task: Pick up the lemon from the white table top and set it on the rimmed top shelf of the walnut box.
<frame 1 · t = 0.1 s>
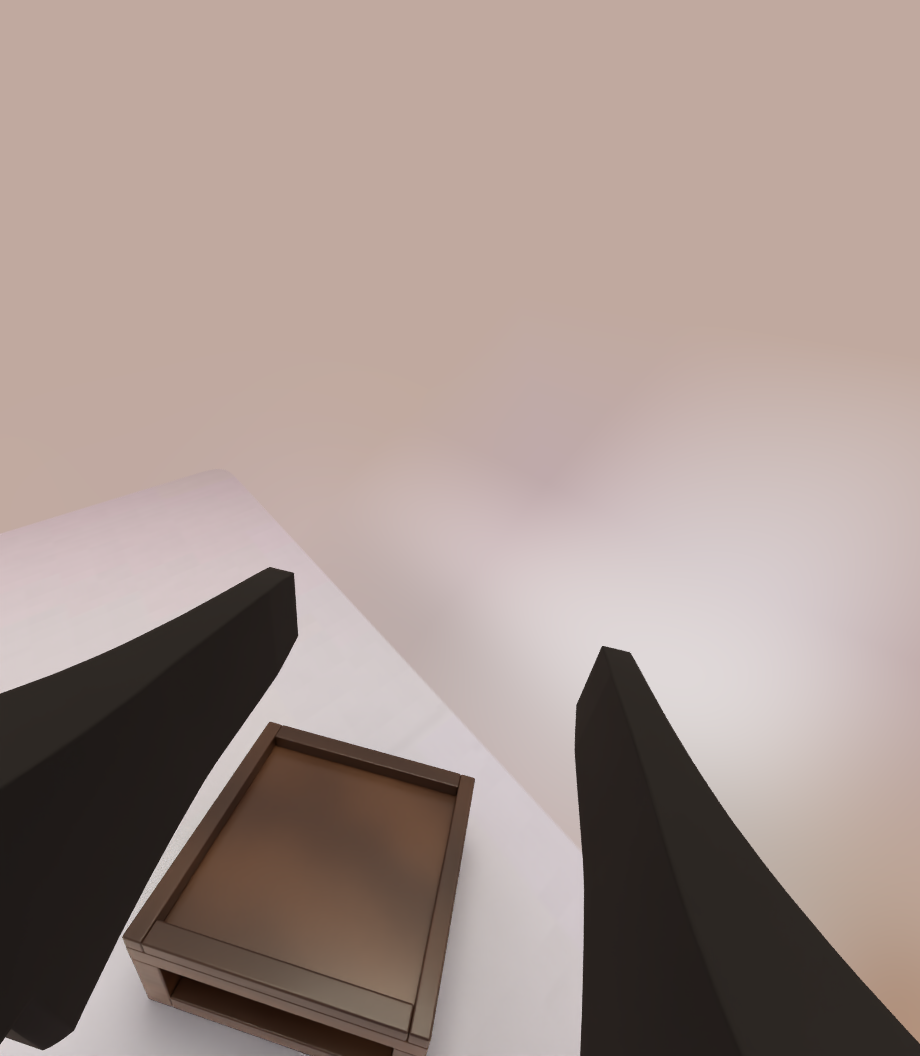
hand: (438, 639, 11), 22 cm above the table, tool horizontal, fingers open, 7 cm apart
walnut box: (329, 905, 23), on the table
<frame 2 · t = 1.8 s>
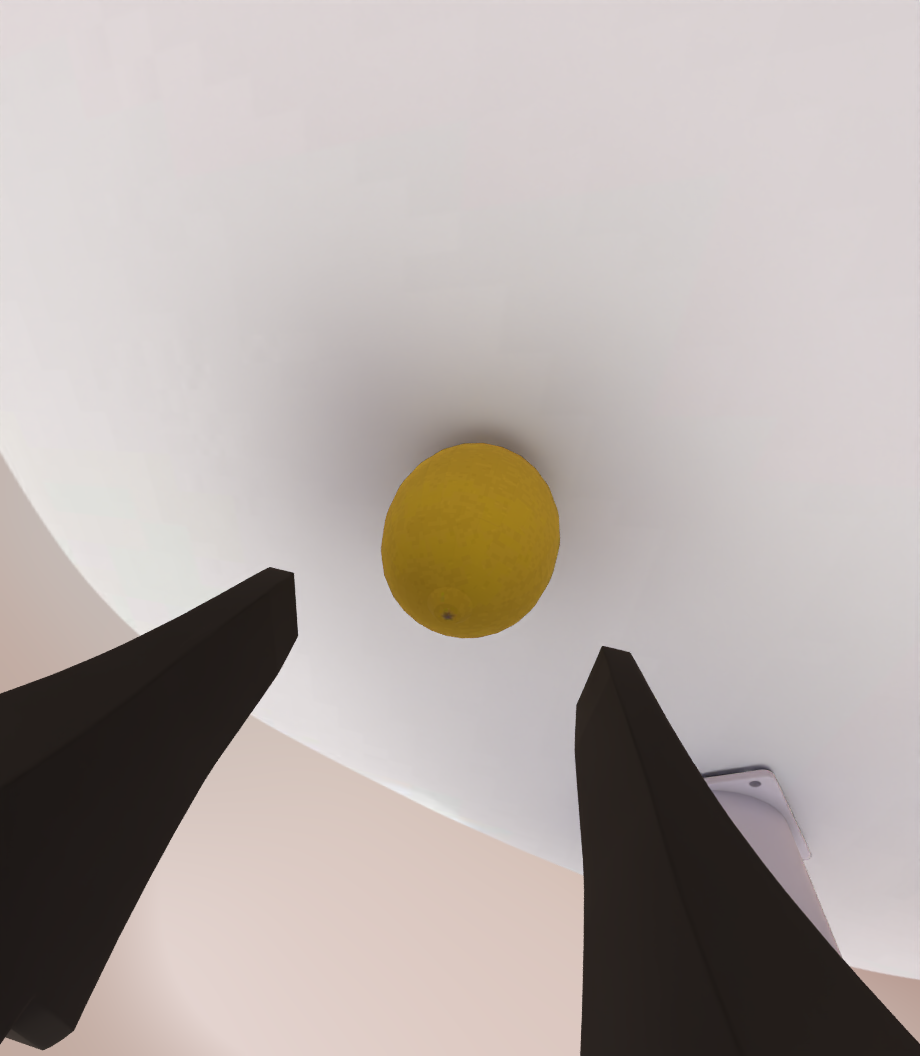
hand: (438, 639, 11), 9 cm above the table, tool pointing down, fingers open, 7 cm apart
lemon: (489, 480, 18), on the table
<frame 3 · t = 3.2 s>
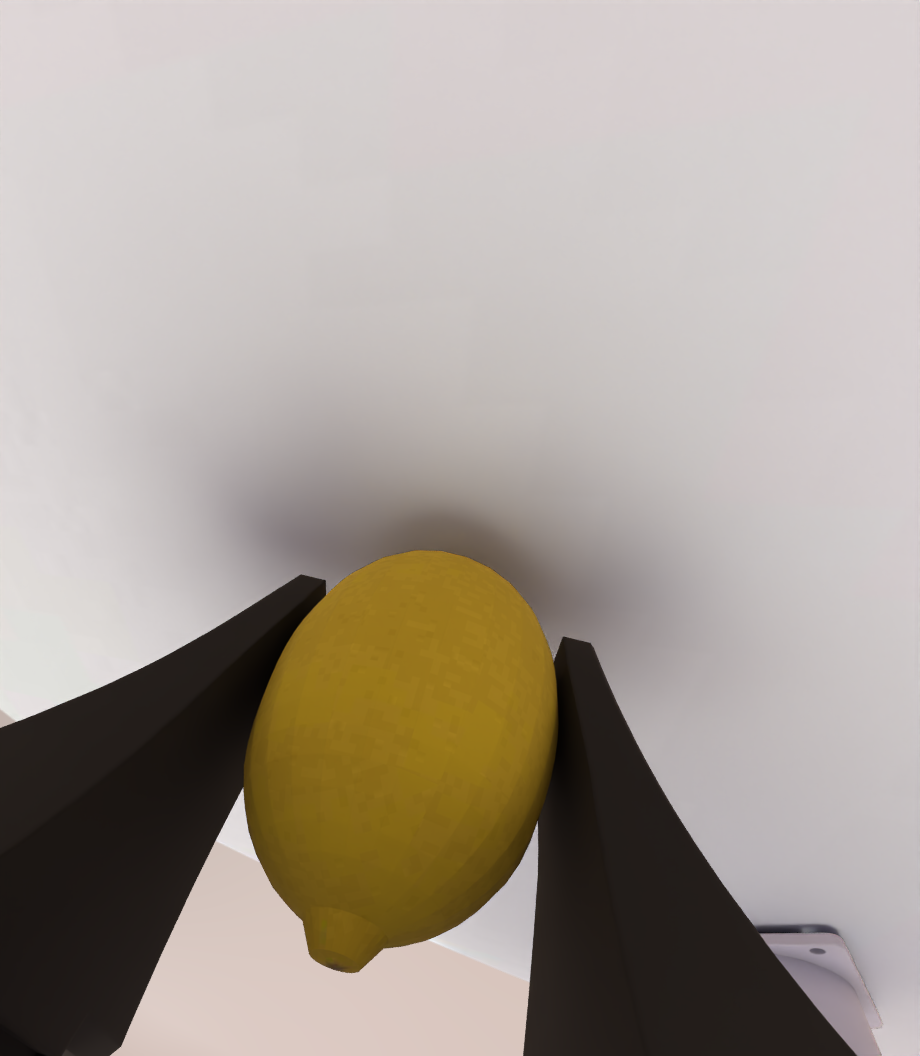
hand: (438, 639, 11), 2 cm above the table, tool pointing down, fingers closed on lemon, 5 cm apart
lemon: (456, 577, 13), on the table, touching gripper
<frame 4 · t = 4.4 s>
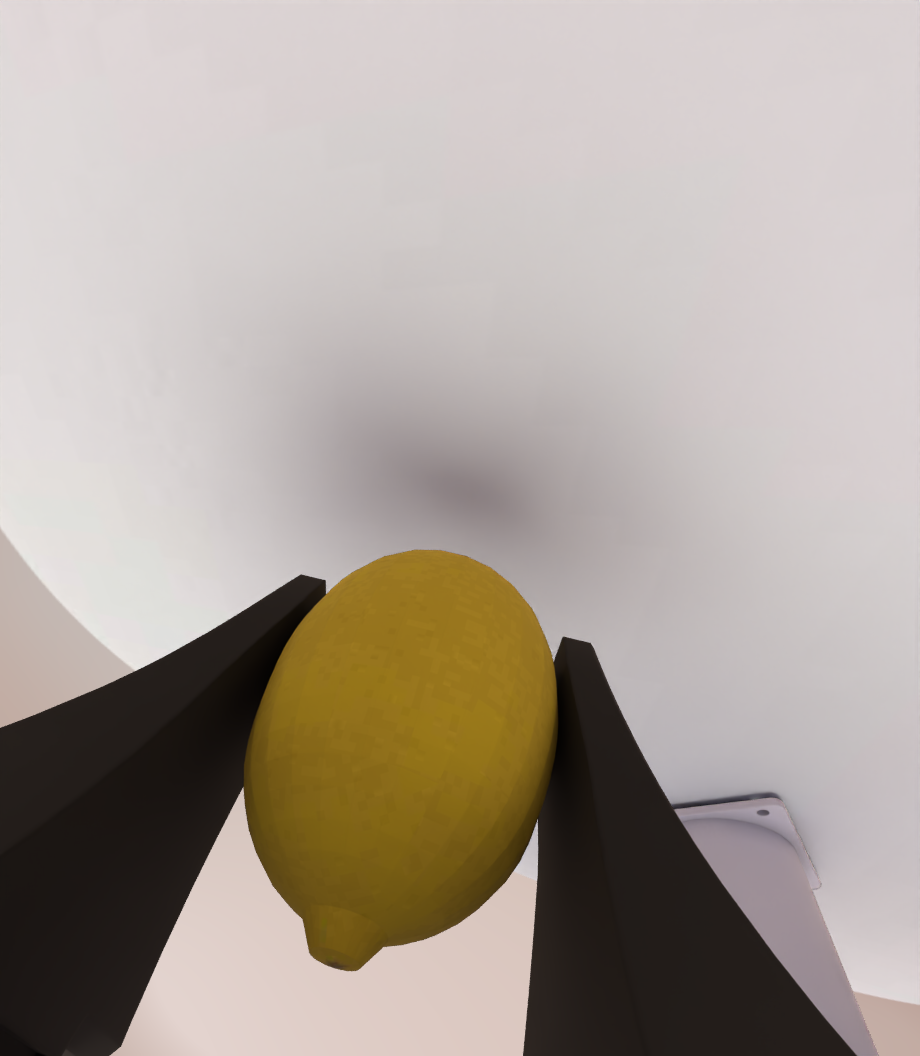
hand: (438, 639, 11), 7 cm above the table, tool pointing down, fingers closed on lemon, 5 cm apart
lemon: (456, 577, 13), point 5 cm above the table, touching gripper
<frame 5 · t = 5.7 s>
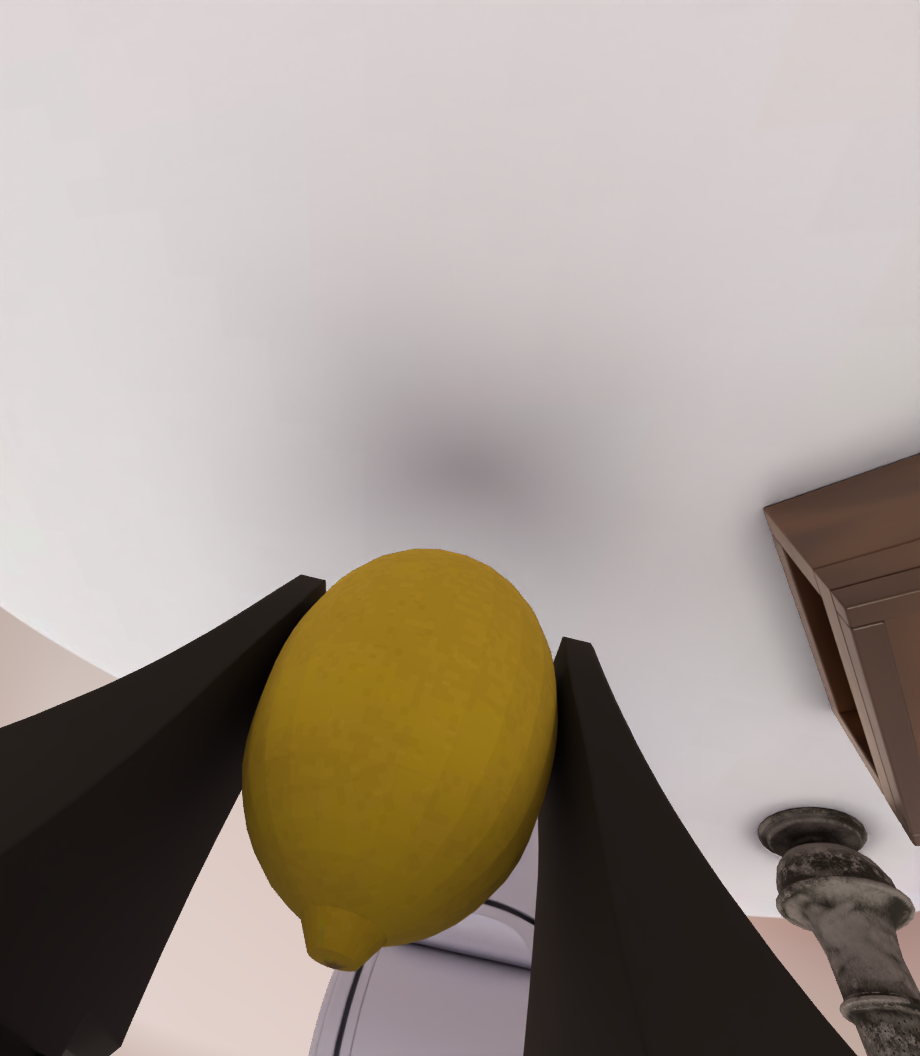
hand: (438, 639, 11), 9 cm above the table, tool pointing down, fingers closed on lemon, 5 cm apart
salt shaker: (808, 830, 26), on the table
lemon: (456, 576, 13), point 7 cm above the table, touching gripper
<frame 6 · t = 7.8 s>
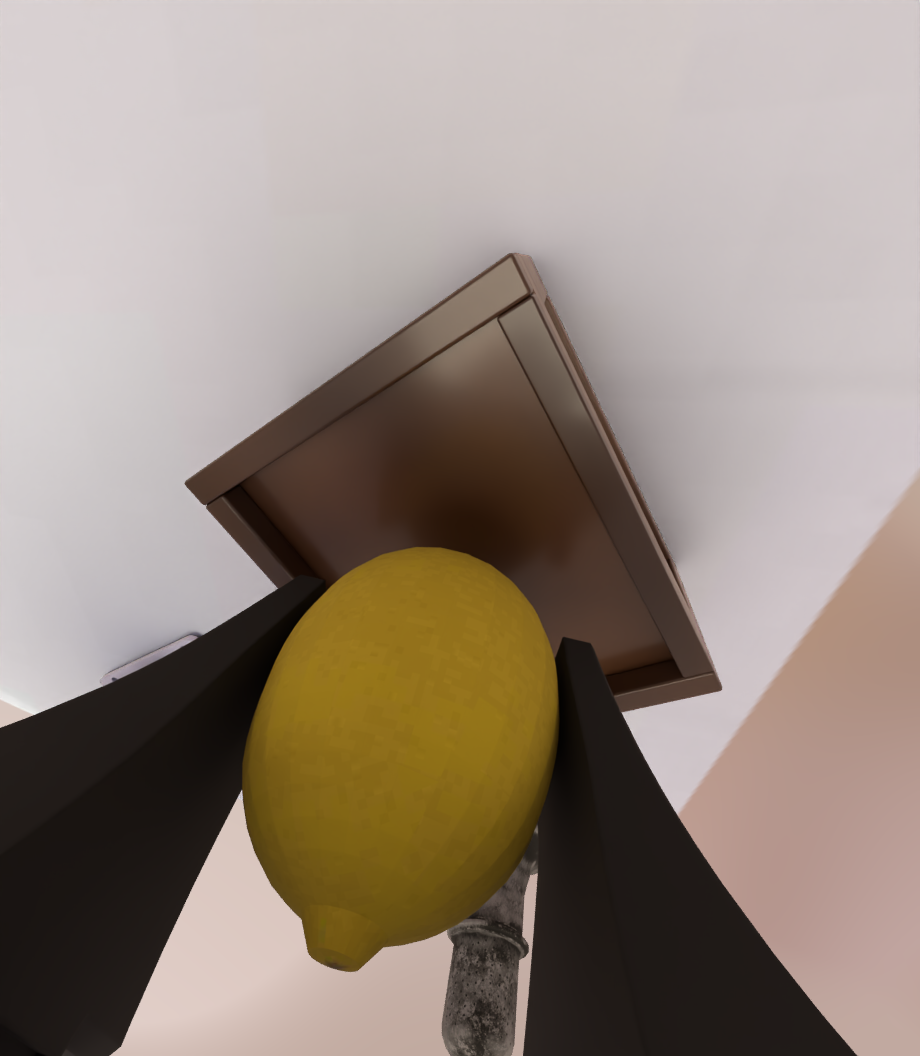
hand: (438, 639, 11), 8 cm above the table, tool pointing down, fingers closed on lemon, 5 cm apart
walnut box: (484, 493, 17), on the table
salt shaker: (504, 773, 26), on the table
lemon: (456, 575, 13), point 5 cm above the table, touching gripper
when the fingers open (7 cm above the table, at t = 8.5 s): lemon stays where it is, resting on walnut box.
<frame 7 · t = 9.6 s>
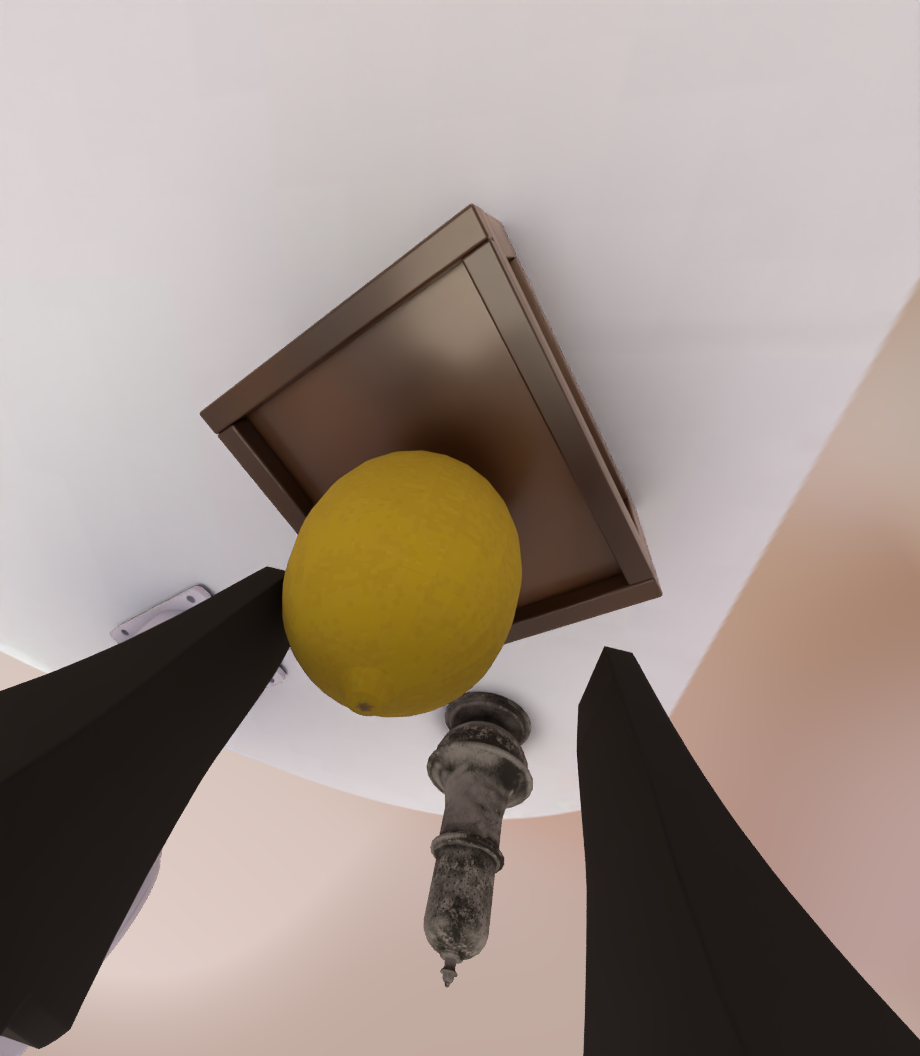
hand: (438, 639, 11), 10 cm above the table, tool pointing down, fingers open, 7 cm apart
walnut box: (464, 442, 19), on the table
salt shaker: (487, 719, 28), on the table
lemon: (437, 490, 15), point 5 cm above the table, touching gripper, walnut box
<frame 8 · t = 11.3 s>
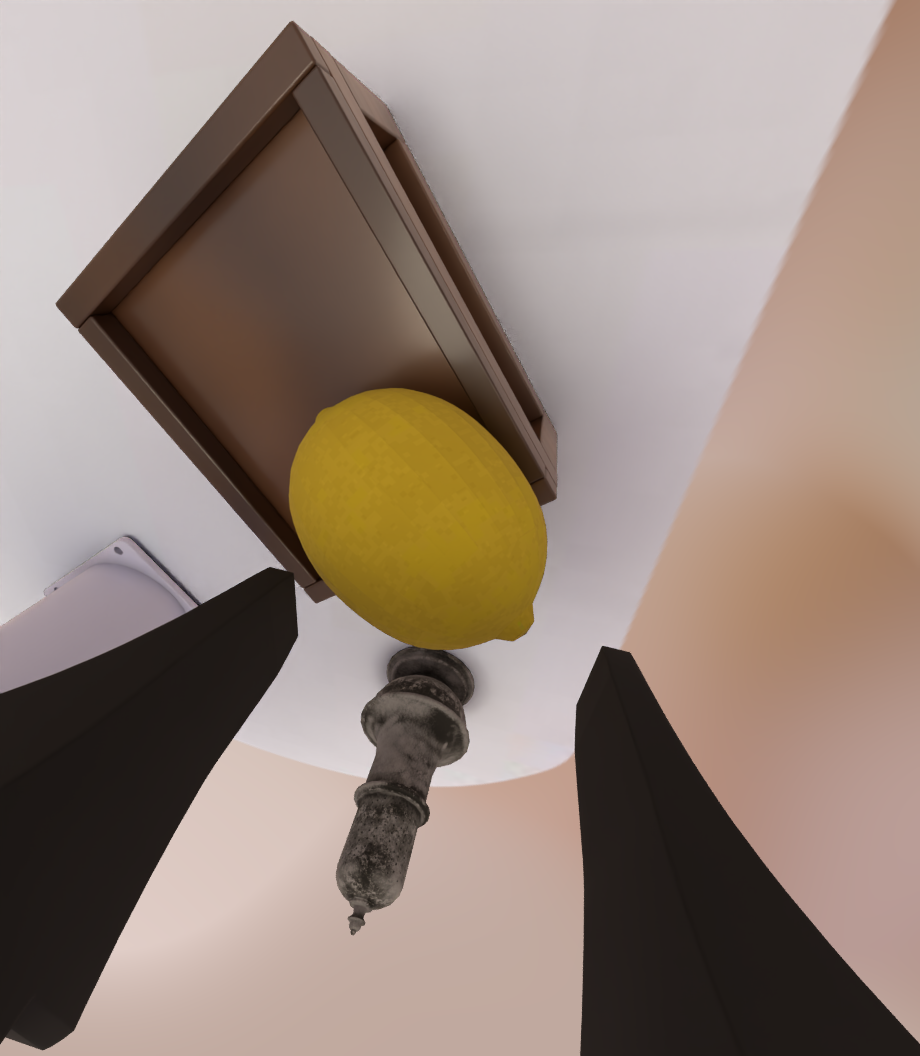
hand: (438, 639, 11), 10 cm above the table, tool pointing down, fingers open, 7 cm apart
walnut box: (375, 363, 18), on the table
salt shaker: (431, 676, 27), on the table
lemon: (319, 409, 13), point 6 cm above the table, touching walnut box
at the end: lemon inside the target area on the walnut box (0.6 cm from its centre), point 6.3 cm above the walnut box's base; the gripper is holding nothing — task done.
